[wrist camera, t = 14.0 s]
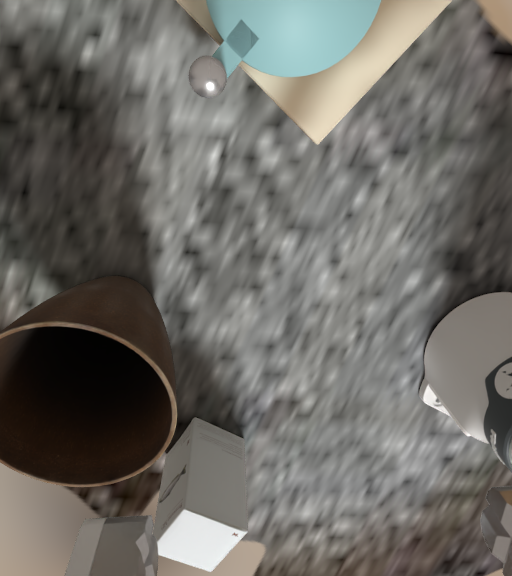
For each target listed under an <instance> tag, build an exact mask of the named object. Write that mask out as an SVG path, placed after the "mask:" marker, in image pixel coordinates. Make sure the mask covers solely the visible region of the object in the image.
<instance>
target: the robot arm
mask: <svg viewBox="0 0 512 576" xmlns="http://www.w3.org/2000/svg"><path fill="white" fill-rule="evenodd" d="M424 365H425V377H424V380H423V382H422V385H421V387H420V391H419V396H420V398H421V399H422V400H423V401H424V402H425V403H426V404H428V405H429V406H431V407H433V408H435V409H437V410H439V411H441V412H443V413H445V414H447V415H449V416H451V417H452V418H453V420H454V421H455V422H456V424H457V425H458V426H459V428H460V429H461V430H462V431H463V432H464V433H465V434H466V435H467V436H473V437H474V438H476V439H478V440H480V441H483V442H485V443H488V444H490V445H491V447H492V448H493V450H494V452H495V454H496V455H497V456H498V458H499V459H500V460H501V461H502V463H503V464H505V465H506V466H507V467H508V469H509V470H510V471H511V472H512V293H511V292H497V293H490V294H485V295H482V296H479V297H476V298H473V299H471V300H469V301H467V302H465V303H463V304H461V305H460V306H458V307H457V308H455V309H454V310H453V311H451V312H450V313H449V314H448V315H447V316H445V317H444V318H443V319H442V321H441V322H440V323H439V324H438V325H437V327H436V328H435V329H434V331H433V333H432V334H431V336H430V338H429V340H428V343H427V346H426V349H425V355H424ZM437 398H438V399H437ZM486 499H487V501H488V503H489V504H490V505H489V506H488V507H486V508H485V509H484V510H483V511H482V516H481V528H482V534H483V536H484V539H485V542H486V544H487V546H488V548H489V549H490V551H491V553H492V554H493V555H494V556H496V557H497V558H498V559H500V560H501V561H502V562H504V563H503V575H504V576H512V486H503V487H492V488H491V489H490V490H488V493H487V496H486ZM153 525H154V524H153V521H152V516H151V515H149V516H130V517H111V518H96V519H85V521H84V523H83V524H82V525H81V527H80V530H79V533H78V537H77V539H76V542H75V545H74V549H73V552H72V554H71V557H70V560H69V564H68V567H67V570H66V573H65V576H157V570H158V544H157V539H156V537H155V536H154V535H152V532H153Z"/></svg>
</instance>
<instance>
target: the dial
mask: <svg viewBox="0 0 512 576" xmlns="http://www.w3.org/2000/svg"><path fill="white" fill-rule="evenodd" d="M206 3H207V7H208V10H209V13H210V16H211V18H212V21H213V23H214V25H215V27H216V29H217V31H218V33H219V35H220V36H221V38H222V39H223V41H224V42H223V43H222V44H221V45H220V47H219V48H218V49H217V50H216V52H215V53H214V54H213V55H212V56H202V57H199V58H198V59H196V60H195V61H194V62H193V64H192V65H191V67H190V70H189V82H190V85H191V87H192V89H193V90H194V91H195V92H196V93H197V94H198V95H200V96H202V97H205V98H212V97H215V96H217V95H219V94H220V93H221V92H222V91H223V90H224V88H225V86H226V82H227V78H228V77H229V75H230V74H231V73H232V72H233V71H234V69H235V68H236V67H237V66H238V64H239V63H240V62H241V61H243V62H245V63H246V64H248V65H249V66H250V67H252V68H254V69H256V70H258V71H260V72H263V73H266V74H269V75H273V76H279V77H299V76H307V75H311V74H314V73H318V72H320V71H323V70H325V69H327V68H329V67H331V66H333V65H334V64H336V63H338V62H339V61H340V60H342V59H343V58H344V57H345V56H347V55H348V54H349V53H350V52H351V51H352V50H353V49H354V48H355V47H356V46H357V44H358V43H359V42H360V41H361V39H362V38H363V37H364V36H365V34H366V32H367V31H368V29H369V28H370V26H371V24H372V22H373V20H374V18H375V16H376V14H377V11H378V8H379V5H380V3H381V0H206Z"/></svg>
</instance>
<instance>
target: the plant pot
mask: <svg viewBox="0 0 512 576" xmlns="http://www.w3.org/2000/svg"><path fill="white" fill-rule="evenodd" d="M176 423H177V397H176V381H175V371H174V363H173V357H172V352H171V347H170V342H169V339H168V335H167V331H166V328H165V325H164V322H163V319H162V317H161V314H160V312H159V309H158V307H157V305H156V303H155V302H154V300H153V298H152V296H151V295H150V293H149V292H148V291H147V290H146V288H145V287H144V286H142V285H141V284H140V283H138V282H136V281H135V280H132V279H130V278H127V277H122V276H107V277H102V278H98V279H94V280H91V281H88V282H85V283H82V284H79V285H77V286H74V287H72V288H70V289H68V290H66V291H63V292H61V293H59V294H57V295H56V296H54V297H52V298H50V299H48V300H46V301H45V302H43V303H41V304H40V305H38V306H36V307H35V308H33V309H32V310H30V311H29V312H27V313H26V314H24V315H23V316H21V317H20V318H18V319H17V320H16V321H14V322H13V323H12V324H10V325H9V326H8V327H6V328H5V329H4V330H2V331H1V332H0V462H1V463H2V464H4V465H6V466H7V467H9V468H11V469H13V470H15V471H17V472H19V473H21V474H23V475H25V476H28V477H31V478H33V479H36V480H40V481H43V482H47V483H51V484H56V485H62V486H71V487H89V486H100V485H107V484H111V483H115V482H119V481H122V480H125V479H128V478H130V477H132V476H134V475H136V474H138V473H140V472H142V471H143V470H145V469H146V468H148V467H149V466H151V465H152V464H153V463H154V462H155V461H156V460H157V459H158V458H159V457H160V456H161V455H162V454H163V453H164V451H165V450H166V448H167V447H168V445H169V444H170V442H171V440H172V437H173V435H174V432H175V428H176Z"/></svg>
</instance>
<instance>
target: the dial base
mask: <svg viewBox="0 0 512 576" xmlns="http://www.w3.org/2000/svg"><path fill="white" fill-rule="evenodd" d="M176 1H177V2H178V3H179V4H180V5H181V6H182V7H183V8H184V9H185V11H186V12H187V13H188V14H189V15H190V16H191V17H192V18H193V19H194V20H195V21H196V22H197V23H198V24H199V25H200V26H201V27H202V28H203V29H204V30H205V31H206V32H207V33H208V34H209V35H210V36H211V37H212V38H213V39H214V40H215V41H216V42H217V43H218V44H219V45H221V44H222V43H223V42H224V41H223V39H222V38H221V36H220V35H219V33H218V31H217V29H216V27H215V25H214V23H213V21H212V18H211V16H210V13H209V10H208V7H207V3H206V0H176ZM451 1H452V0H381V3H380V5H379V8H378V11H377V14H376V16H375V18H374V20H373V22H372V24H371V26H370V28H369V29H368V31H367V32H366V34H365V36H364V37H363V38H362V39H361V41H360V42H359V43H358V44H357V46H356V47H355V48H354V49H353V50H352V51H351V52H350V53H349V54H348V55H347V56H345V57H344V58H343V59H342V60H340V61H339V62H338V63H336V64H334V65H333V66H331V67H329V68H327V69H325V70H323V71H320V72H318V73H314V74H311V75H307V76H299V77H279V76H273V75H269V74H266V73H263V72H260V71H258V70H256V69H254V68H252V67H250V66H249V65H248V64H246V63H245V62H243V61H241V62H240V63H239V64H238V65H239V66H240V67H241V68H242V69H243V70H244V71H245V72H246V73H247V74H248V75H249V76H250V77H251V78H252V79H253V80H254V81H255V82H256V83H257V84H258V85H259V86H260V87H261V88H262V90H263V91H264V92H265V93H266V94H267V95H268V96H269V97H270V98H271V99H272V100H273V101H274V102H275V103H276V104H277V105H278V106H279V107H280V108H281V109H282V110H283V111H284V112H285V113H286V114H287V115H288V116H289V117H290V118H291V119H292V120H293V121H294V122H295V123H296V124H297V125H298V126H299V127H300V129H301V130H302V131H303V132H304V133H305V134H306V135H307V136H308V137H309V138H310V139H311V140H312V141H313V142H314V143H316V144H317V145H318V144H319V143H320V142H321V141H322V140H323V139H324V137H325V136H326V135H327V134H328V133H329V132H330V131H331V130H332V129H333V128H334V127H335V126H336V125H337V123H338V122H339V121H340V120H341V119H342V118H343V117H344V116H345V115H346V114H347V113H348V112H349V111H350V110H351V108H352V107H353V106H354V105H355V104H356V103H357V102H358V101H359V100H360V99H361V98H362V97H363V96H364V94H365V93H366V92H367V91H368V90H369V89H370V88H371V87H372V86H373V85H374V84H375V83H376V82H377V81H378V79H379V78H380V77H381V76H382V75H383V74H384V73H385V72H386V71H387V70H388V69H389V68H390V67H391V66H392V64H393V63H394V62H395V61H396V60H397V59H398V58H399V57H400V56H401V55H402V54H403V53H404V52H405V50H406V49H407V48H408V47H409V46H410V45H411V44H412V43H413V42H414V41H415V40H416V39H417V38H418V37H419V35H420V34H421V33H422V32H423V31H424V30H425V29H426V28H427V27H428V26H429V25H430V24H431V23H432V21H433V20H434V19H435V18H436V17H437V16H438V15H439V14H440V13H441V12H442V11H443V10H444V9H445V8H446V6H447V5H448V4H449V3H450V2H451Z"/></svg>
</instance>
